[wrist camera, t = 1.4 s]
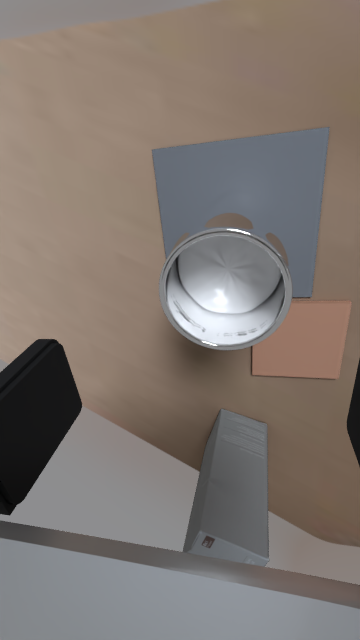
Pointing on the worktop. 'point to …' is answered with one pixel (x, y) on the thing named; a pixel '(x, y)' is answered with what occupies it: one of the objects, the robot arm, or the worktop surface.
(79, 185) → the worktop surface
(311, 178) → the blue-grey tile
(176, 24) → the worktop surface
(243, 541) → the skincare box
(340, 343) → the coaster
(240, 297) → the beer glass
